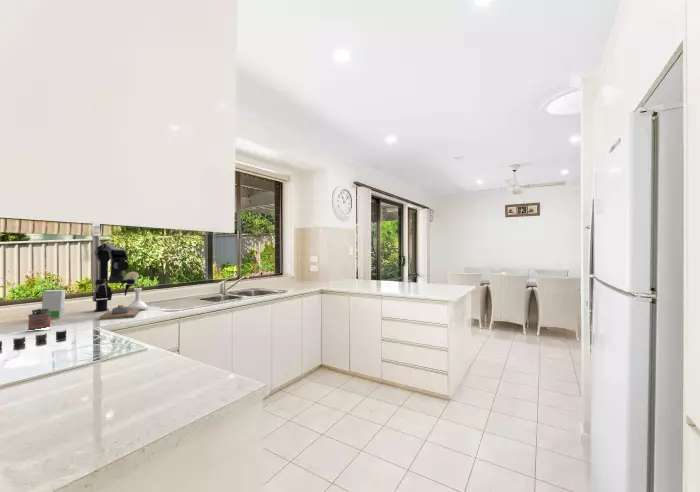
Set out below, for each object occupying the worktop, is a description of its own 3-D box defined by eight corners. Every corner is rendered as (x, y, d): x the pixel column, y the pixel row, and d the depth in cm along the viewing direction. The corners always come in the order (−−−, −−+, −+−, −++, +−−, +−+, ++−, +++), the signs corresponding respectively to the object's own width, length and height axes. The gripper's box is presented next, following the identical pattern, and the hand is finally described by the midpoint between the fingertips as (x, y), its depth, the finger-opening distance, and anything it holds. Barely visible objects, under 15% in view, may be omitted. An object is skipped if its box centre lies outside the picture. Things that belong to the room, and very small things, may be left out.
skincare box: (40, 319, 172) (41, 291, 172) (45, 317, 178) (46, 289, 178) (60, 318, 176) (61, 290, 176) (64, 316, 182) (65, 289, 182)
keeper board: (107, 313, 191) (108, 303, 191) (139, 311, 198) (139, 302, 199) (99, 319, 173) (99, 308, 174) (134, 317, 181) (134, 306, 181)
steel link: (114, 312, 187) (114, 307, 188) (128, 311, 191) (129, 306, 191) (112, 314, 181) (112, 309, 181) (126, 313, 184) (126, 308, 184)
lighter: (26, 331, 146) (26, 309, 146) (29, 330, 149) (30, 308, 149) (48, 330, 149) (49, 308, 149) (52, 328, 152) (52, 307, 152)
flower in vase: (147, 307, 213) (148, 270, 214) (147, 310, 204) (148, 271, 205) (123, 309, 206) (125, 271, 207) (122, 312, 197) (124, 272, 198)
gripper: (93, 270, 176) (92, 298, 176) (133, 270, 185) (132, 297, 184) (98, 269, 186) (97, 296, 186) (136, 269, 195) (135, 294, 194)
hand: (115, 296), depth 187 cm, fingers open, 9 cm apart
